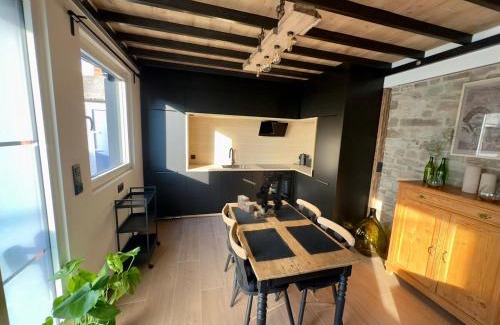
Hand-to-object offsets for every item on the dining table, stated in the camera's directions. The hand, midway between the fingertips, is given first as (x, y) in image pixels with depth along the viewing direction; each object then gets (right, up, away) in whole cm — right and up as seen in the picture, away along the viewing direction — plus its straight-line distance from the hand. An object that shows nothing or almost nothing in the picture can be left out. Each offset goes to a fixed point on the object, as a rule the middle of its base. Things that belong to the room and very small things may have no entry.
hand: (264, 212), depth 189 cm
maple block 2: (+6, -3, +4) cm, 8 cm away
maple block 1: (-6, -3, -3) cm, 8 cm away
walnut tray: (0, -4, +1) cm, 4 cm away
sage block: (0, -1, 0) cm, 1 cm away
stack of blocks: (-18, -1, +15) cm, 23 cm away
